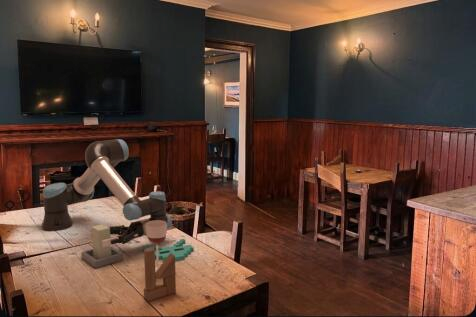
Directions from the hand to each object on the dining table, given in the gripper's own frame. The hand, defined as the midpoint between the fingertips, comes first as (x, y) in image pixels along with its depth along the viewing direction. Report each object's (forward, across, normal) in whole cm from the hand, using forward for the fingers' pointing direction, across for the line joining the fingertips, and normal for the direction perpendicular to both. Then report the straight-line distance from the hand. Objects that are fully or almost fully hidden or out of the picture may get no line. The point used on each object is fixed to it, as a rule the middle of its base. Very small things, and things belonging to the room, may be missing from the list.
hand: (95, 239), depth 165 cm
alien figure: (-28, -14, -10) cm, 33 cm away
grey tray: (-2, 0, -10) cm, 10 cm away
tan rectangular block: (-3, 0, -9) cm, 9 cm away
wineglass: (-14, -27, -10) cm, 32 cm away
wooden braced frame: (-3, -45, -10) cm, 46 cm away
